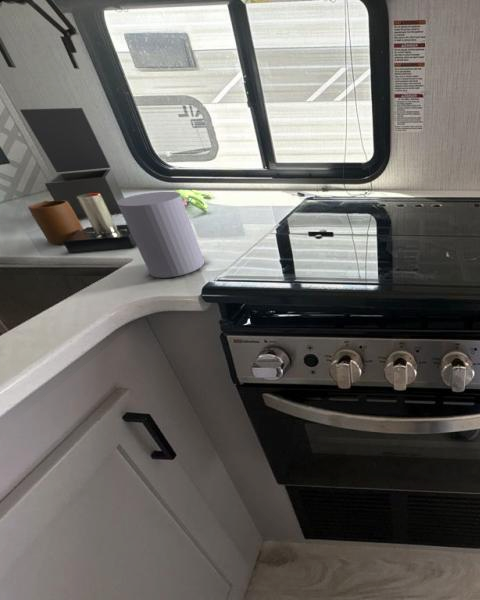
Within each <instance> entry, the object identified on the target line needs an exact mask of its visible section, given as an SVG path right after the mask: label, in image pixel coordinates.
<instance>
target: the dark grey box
mask: <svg viewBox="0 0 480 600" xmlns="http://www.w3.org/2000/svg"><path fill="white" fill-rule="evenodd" d="M44 185H45V187H46V189H47V190H48V192H49V194H50V196H51V198H52V199H53V201H55V200H66V201H68V203H69V204H70V206H71V207H72V209H73V211H74V213H75V214H76V216H77V218H78V220H81V219H88V218H87V216H86V214H85V212H84V210H83V208H82V206H81V204H80V203H79V201H78V199H77V196H79V195H83V194H89V193H100V194H101V196H102V198H103V200H104V202H105V205H106V207H107V209H108V211H109V213H110V215H111V216H112V215H117V214H122V213H121V210H120V208H119V206H118V204H117V202H118V201H119V200H121V199H124V198H125V196H124V194H123V192H122V190H121V187H120V185H119V183H118V181H117V179H116V176H115V174H114V172H113V170H112V168H103V169H92V170H81V171H70V172H59V173H57V174H55V175H54V176H52V177H51V178H50V179H49V180H47V181H46V182H44Z"/></svg>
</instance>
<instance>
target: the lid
mask: <svg viewBox="0 0 480 600" xmlns="http://www.w3.org/2000/svg"><path fill="white" fill-rule="evenodd" d="M19 111H20V113H21V114H22V116H23V118H24V120H25V122H26V123H27V125H28V126H29V128H30V130H31V132H32V133H33V135H34V137H35V138H36V140H37V142H38V144H39V145H40V147H41V149H42V150H43V152H44V154H45V155H46V157H47V158H48V160H49V162H50V164H51V165H52V167H53V168H54V170H55V172H56V173H70V172H81V171H92V170H103V169H111V165H110V163H109V161H108V159H107V157H106V155H105V153H104V151H103V149H102V148H103V147H102V146H101V144H100V142H99V140H98V138H97V136H96V134H95V132H94V129H93V127H92V125H91V124H90V120H89V119H88V116H87V115H86V113H85V111H84V109H83V107H63V108H61V107H60V108H59V107H57V108H21V109H19Z"/></svg>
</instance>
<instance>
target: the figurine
mask: <svg viewBox="0 0 480 600" xmlns="http://www.w3.org/2000/svg"><path fill="white" fill-rule="evenodd" d="M172 192H177V193H180V195H181V198H182V200H183V203H184V206H187V204H188V203H187V201H188V202H189V204H190V205H191V206H193V207H195V208H197V209H199V210H201V211H202V212H203V213H204V214H208V211H207V208H208V204H207V203H206V202H205V201H204V197H205V198H209V199H210V198H212V197H213V194H212V193H211V192H208V193H205V192H202V191H199V190H194V189H191V190H188V189H176V190H173V191H172Z"/></svg>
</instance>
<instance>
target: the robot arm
mask: <svg viewBox="0 0 480 600" xmlns="http://www.w3.org/2000/svg"><path fill="white" fill-rule="evenodd" d="M45 2H46V3H47V4H48V5H49V6H50V8H51V9H52V10H53V12H54V13H55V14H56V15H57V17H59V19H60V20H61V21H62V22H63V23H64V25H65V26H66V29H65V27H63V26H62V25H61V24H60V23H59V22H57V21H56V19H54V18H53V17H52V16H51V15H49V14H48V13H47V11H46V10H45V9H44V8H42V7H41V6H40V5H39V4H38V3H36V2H35V0H0V8H1V7H2V5H3V3H5V4H7V5H14V4H17V5H22V6H25V5H27V4H28V5H29V6H30V7H32V8H33V10H35V11H36V12H37V13H38V14H39V15H40V16H41V17H43V18H44V19H45V20H46V21H47V22H48V23H49V24H51V26H53V28H55V29H56V30H57V31H59V32H60V33H61V34H62V36H61V35H60V36H59V37H60V39H61V42H62V44H63V46H64V49H65V51H66V53H67V56H68V58H69V60H70V63H71V65H72V67H73V69H76V70H80V66H79V64H78V62H77V59H76V57H75V55H74V54H78V49H77V47H76V45H75V42H74V40H73V37H75V36H78V35H79V31H78V30H77V28H76V27H75V26H74V25H73V24H72V22H71V21H70V20H69V18H67V16H66V15H65V14H64V13H63V11H62V10H61V9H60V7H59V6H58V5H57V3H55V1H54V0H45ZM0 53H1V56H2V57H3V59H4V61H5V64H6V65H7V67H8V68H12V69H13V68H14V69H16V68H17V66H16V63H14V61H13V59H12V56H11V55H10V53H9V51H8V49H7V47H6V45H5V43H4V41H3V39H2V37H1V36H0Z"/></svg>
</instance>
